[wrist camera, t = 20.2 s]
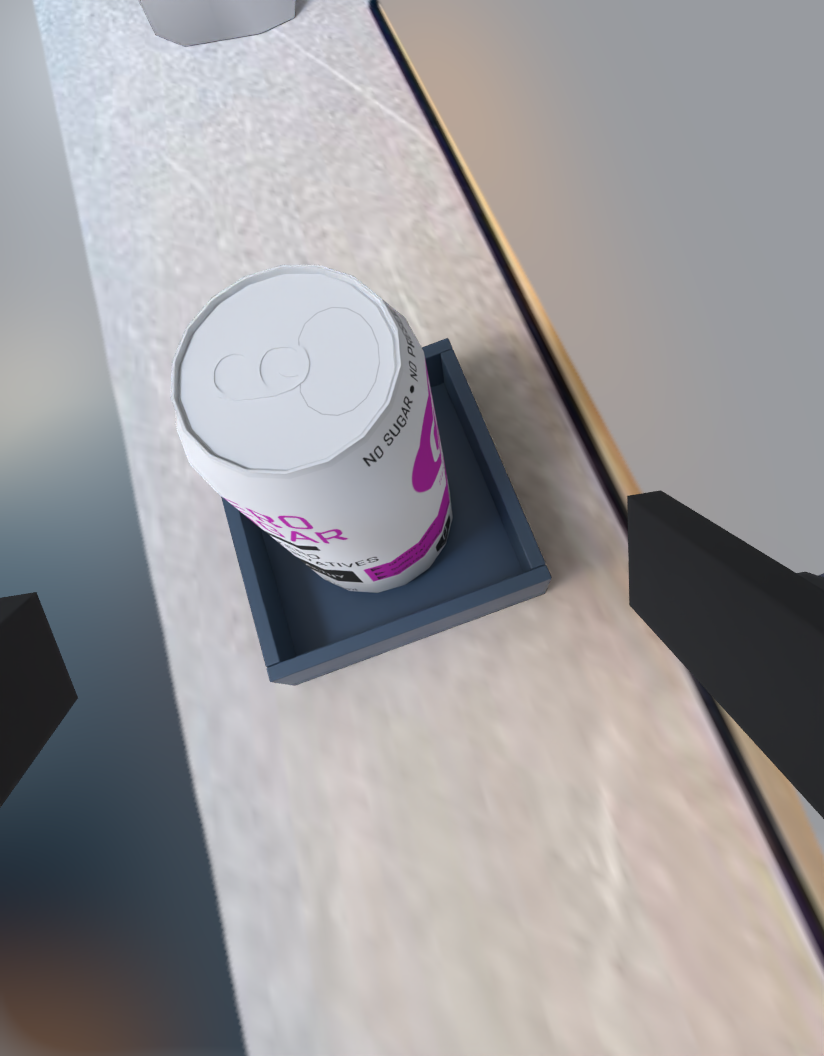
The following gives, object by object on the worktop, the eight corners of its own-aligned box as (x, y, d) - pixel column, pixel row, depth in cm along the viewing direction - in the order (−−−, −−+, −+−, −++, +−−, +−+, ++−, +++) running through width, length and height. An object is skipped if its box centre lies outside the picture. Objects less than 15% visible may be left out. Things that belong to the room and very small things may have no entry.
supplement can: (444, 436, 33) (408, 227, 19) (460, 587, 31) (434, 477, 17) (297, 455, 34) (156, 268, 20) (301, 603, 32) (145, 512, 17)
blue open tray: (545, 593, 31) (552, 578, 27) (294, 686, 31) (269, 682, 28) (452, 374, 35) (448, 337, 32) (230, 456, 35) (203, 429, 32)
